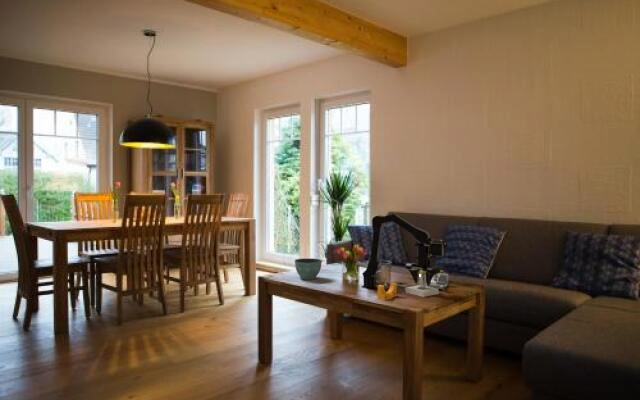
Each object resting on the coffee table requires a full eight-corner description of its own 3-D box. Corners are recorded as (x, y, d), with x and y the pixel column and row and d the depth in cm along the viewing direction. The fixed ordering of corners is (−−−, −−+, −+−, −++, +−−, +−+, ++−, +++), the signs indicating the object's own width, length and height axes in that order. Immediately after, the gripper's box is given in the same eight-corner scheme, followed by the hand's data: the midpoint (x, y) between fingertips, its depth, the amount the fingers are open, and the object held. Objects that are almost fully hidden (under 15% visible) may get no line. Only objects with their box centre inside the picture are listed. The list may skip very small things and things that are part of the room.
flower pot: (288, 278, 280) (289, 260, 279) (307, 274, 292) (307, 257, 292) (309, 282, 269) (309, 263, 269) (327, 278, 281) (327, 260, 281)
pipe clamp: (384, 300, 231) (384, 287, 231) (377, 299, 234) (377, 286, 234) (399, 297, 239) (399, 284, 239) (392, 295, 242) (392, 282, 242)
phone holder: (443, 274, 251) (421, 272, 257) (442, 292, 252) (421, 290, 257) (450, 269, 267) (430, 267, 273) (449, 286, 268) (429, 283, 273)
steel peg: (422, 294, 245) (422, 275, 245) (416, 292, 248) (417, 273, 248) (426, 293, 247) (427, 274, 247) (421, 291, 250) (421, 273, 250)
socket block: (402, 291, 250) (402, 286, 250) (386, 287, 260) (386, 282, 260) (417, 288, 258) (417, 284, 258) (401, 284, 267) (401, 280, 267)
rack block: (423, 296, 239) (423, 292, 239) (405, 292, 249) (405, 287, 249) (438, 293, 247) (438, 289, 247) (420, 289, 256) (420, 284, 256)
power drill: (447, 283, 274) (448, 240, 273) (417, 280, 280) (418, 238, 279) (448, 280, 282) (450, 238, 281) (420, 277, 288) (421, 236, 288)
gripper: (447, 256, 245) (446, 286, 245) (419, 251, 259) (418, 279, 260) (433, 257, 238) (432, 288, 238) (405, 253, 253) (404, 282, 253)
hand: (422, 284), depth 248 cm, fingers open, 8 cm apart
